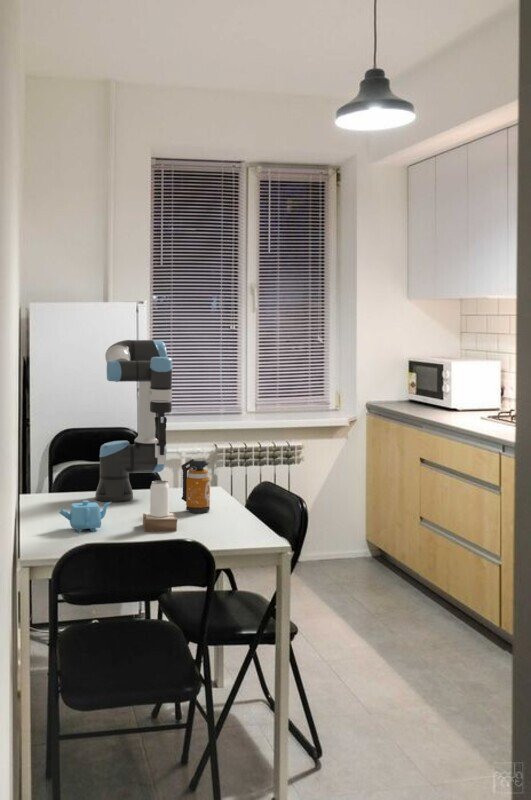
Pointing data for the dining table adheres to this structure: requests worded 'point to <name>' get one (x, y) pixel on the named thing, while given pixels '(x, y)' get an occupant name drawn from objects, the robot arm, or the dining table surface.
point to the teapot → (85, 515)
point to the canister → (196, 486)
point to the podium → (159, 523)
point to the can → (159, 499)
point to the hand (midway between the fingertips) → (160, 460)
